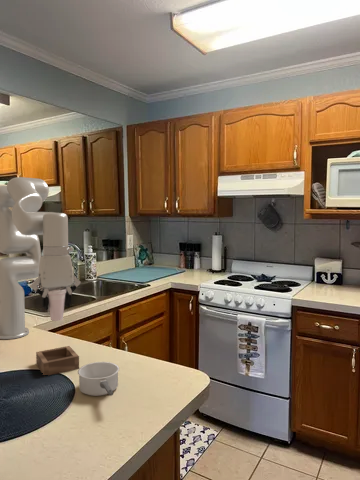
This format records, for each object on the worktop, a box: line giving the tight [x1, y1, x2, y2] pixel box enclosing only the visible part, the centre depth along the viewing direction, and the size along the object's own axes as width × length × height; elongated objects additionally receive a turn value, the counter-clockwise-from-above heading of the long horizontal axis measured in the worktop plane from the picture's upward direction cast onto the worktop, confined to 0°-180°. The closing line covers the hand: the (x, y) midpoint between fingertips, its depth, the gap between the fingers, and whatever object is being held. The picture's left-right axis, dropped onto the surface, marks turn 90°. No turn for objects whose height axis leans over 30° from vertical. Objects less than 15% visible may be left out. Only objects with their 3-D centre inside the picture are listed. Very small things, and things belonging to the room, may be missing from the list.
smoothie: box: [47, 287, 67, 322], centre depth 115 cm, size 6×6×14 cm
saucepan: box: [77, 361, 120, 397], centre depth 98 cm, size 12×20×6 cm, turn 25°
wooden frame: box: [35, 345, 80, 376], centre depth 117 cm, size 11×11×4 cm
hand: (56, 307), depth 116 cm, fingers closed on smoothie, 6 cm apart
